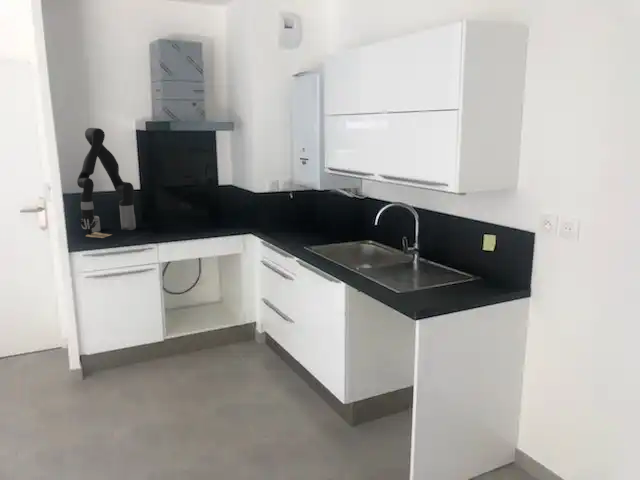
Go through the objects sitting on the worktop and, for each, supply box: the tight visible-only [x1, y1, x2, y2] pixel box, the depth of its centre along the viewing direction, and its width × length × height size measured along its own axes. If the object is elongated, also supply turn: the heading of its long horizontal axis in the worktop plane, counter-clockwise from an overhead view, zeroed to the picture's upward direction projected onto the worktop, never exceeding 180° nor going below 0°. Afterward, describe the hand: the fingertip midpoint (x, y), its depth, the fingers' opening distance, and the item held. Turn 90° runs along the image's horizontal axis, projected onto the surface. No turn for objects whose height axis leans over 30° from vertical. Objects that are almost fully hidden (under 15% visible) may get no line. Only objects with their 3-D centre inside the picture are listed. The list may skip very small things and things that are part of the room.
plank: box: [85, 231, 104, 238], centre depth 345 cm, size 10×7×1 cm
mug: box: [80, 215, 101, 233], centre depth 357 cm, size 12×8×11 cm
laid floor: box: [96, 233, 113, 239], centre depth 345 cm, size 11×14×2 cm
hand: (89, 234), depth 345 cm, fingers closed
